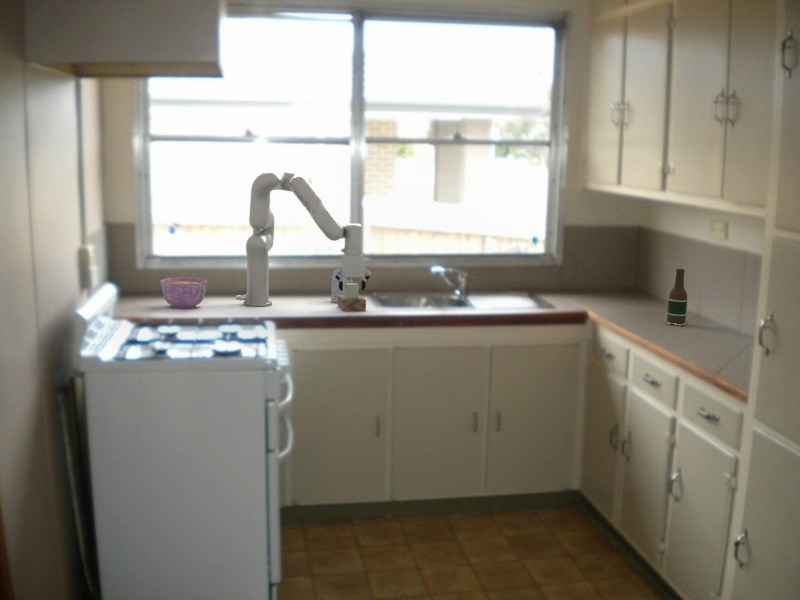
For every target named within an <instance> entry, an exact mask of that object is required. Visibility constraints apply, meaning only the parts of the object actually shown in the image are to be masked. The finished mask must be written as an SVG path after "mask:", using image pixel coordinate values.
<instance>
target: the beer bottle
mask: <svg viewBox="0 0 800 600" xmlns="http://www.w3.org/2000/svg"><path fill="white" fill-rule="evenodd" d="M675 272H676V274H675V278H674V279H675V280H674V284H673V288H672V289H671V290H670V292H669V295H668V303H667V317H666V322H667V321H668V322H670V323H677V324H683V323H685V324H686V319H687V309H688V294H687V291H686V289H685V285H684V284H685V273H686V271H685V269H684V268H676V270H675Z"/></svg>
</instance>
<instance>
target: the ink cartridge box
mask: <svg viewBox="0 0 800 600" xmlns="http://www.w3.org/2000/svg"><path fill="white" fill-rule="evenodd" d="M337 275H338V276H339V277H340V276H341V271H340V272H338V273H337ZM330 279H331V281H330V282H331V283H330V285H331V286H330V296H331V297H330V302H331V303H338V295H345V283H353V282H354V280H353V279H354V278H344V279H343V280H342V282H343V290H342V291H341V290H340V289H339V281H338V280H337V278H336V277H335V276H334V274H333V275H331V278H330Z"/></svg>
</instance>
